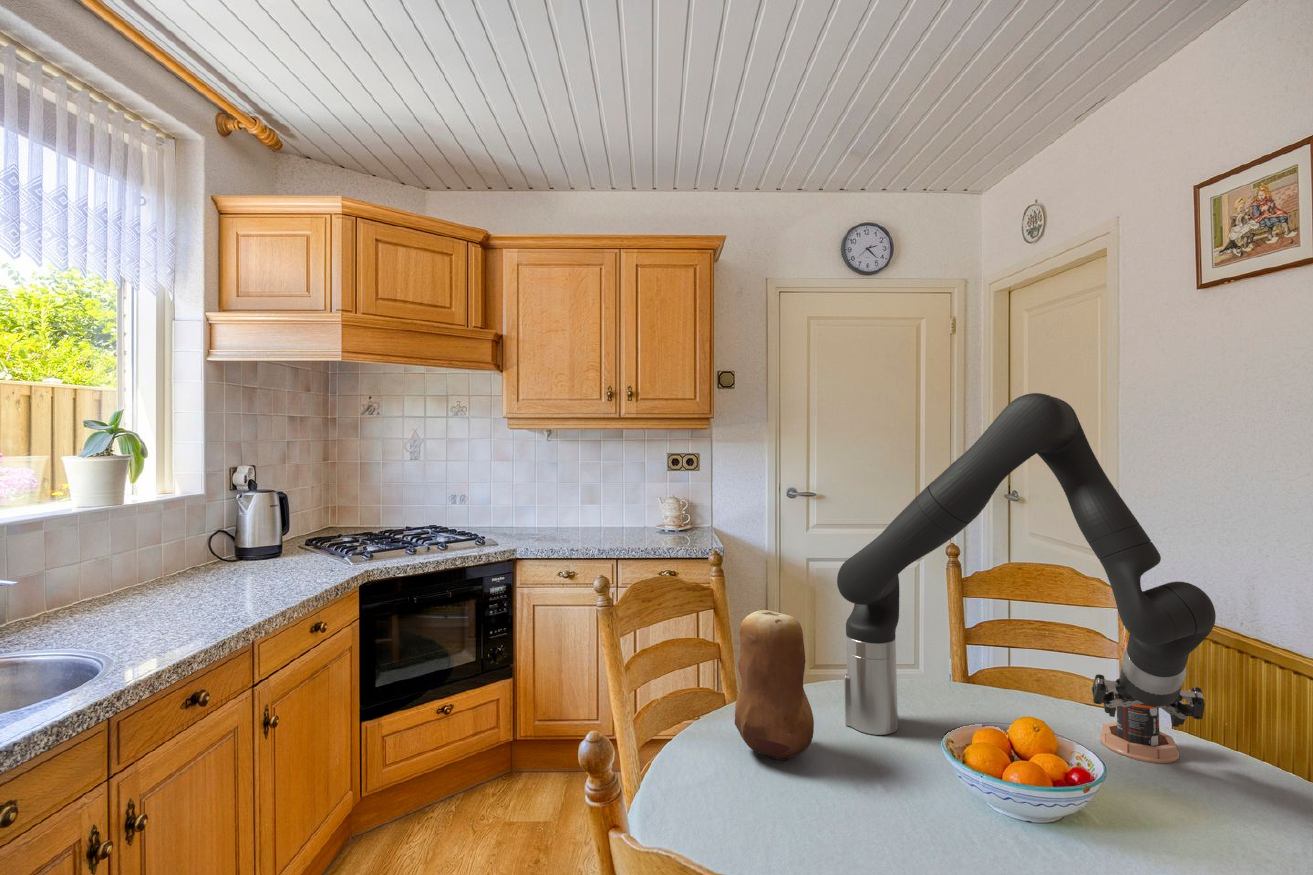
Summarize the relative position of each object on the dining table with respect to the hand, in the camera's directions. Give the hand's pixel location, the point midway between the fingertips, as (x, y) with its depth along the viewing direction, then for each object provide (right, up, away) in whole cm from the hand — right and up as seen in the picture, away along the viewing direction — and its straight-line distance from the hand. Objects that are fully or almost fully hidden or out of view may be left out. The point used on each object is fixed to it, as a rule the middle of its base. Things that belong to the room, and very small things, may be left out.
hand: (1141, 716), depth 104 cm
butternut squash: (-63, -9, +4) cm, 63 cm away
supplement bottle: (+2, -7, +3) cm, 8 cm away
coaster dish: (+2, -7, +4) cm, 9 cm away
